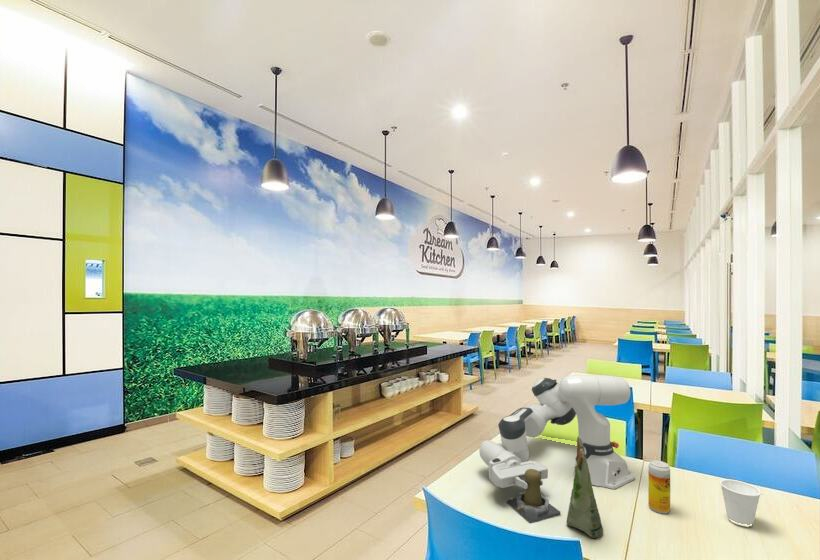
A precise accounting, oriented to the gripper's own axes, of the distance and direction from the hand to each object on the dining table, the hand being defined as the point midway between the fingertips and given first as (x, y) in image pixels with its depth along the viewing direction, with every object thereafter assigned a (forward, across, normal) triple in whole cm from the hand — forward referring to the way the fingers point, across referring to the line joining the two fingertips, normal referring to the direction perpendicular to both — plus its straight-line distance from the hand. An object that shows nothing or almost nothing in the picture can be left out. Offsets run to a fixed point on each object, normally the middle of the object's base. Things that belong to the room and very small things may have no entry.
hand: (534, 485), depth 129 cm
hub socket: (-1, 0, -8) cm, 8 cm away
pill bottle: (+14, -39, -8) cm, 42 cm away
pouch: (+12, -8, -8) cm, 17 cm away
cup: (+28, -56, -8) cm, 63 cm away
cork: (-1, 0, -7) cm, 7 cm away
